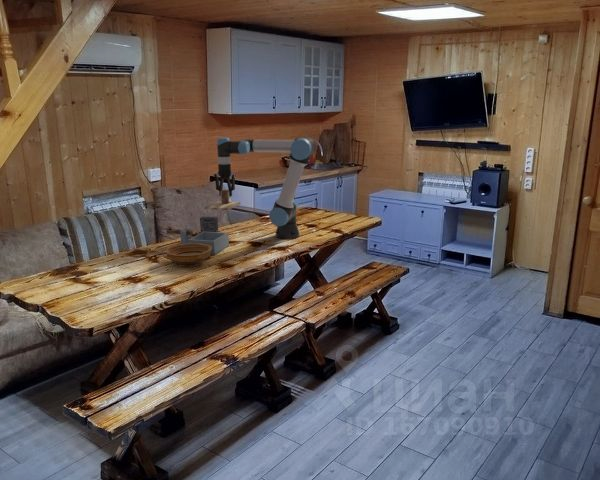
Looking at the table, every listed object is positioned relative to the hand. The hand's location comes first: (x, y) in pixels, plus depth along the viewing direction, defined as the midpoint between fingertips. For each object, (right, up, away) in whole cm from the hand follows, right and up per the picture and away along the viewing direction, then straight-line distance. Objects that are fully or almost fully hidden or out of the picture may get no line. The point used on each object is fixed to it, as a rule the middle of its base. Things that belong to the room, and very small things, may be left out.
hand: (226, 201), depth 330 cm
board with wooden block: (-1, -3, -4) cm, 5 cm away
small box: (-13, -19, +20) cm, 31 cm away
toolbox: (-10, -29, -18) cm, 36 cm away
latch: (-24, -20, -21) cm, 38 cm away
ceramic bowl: (-13, -36, -45) cm, 59 cm away
